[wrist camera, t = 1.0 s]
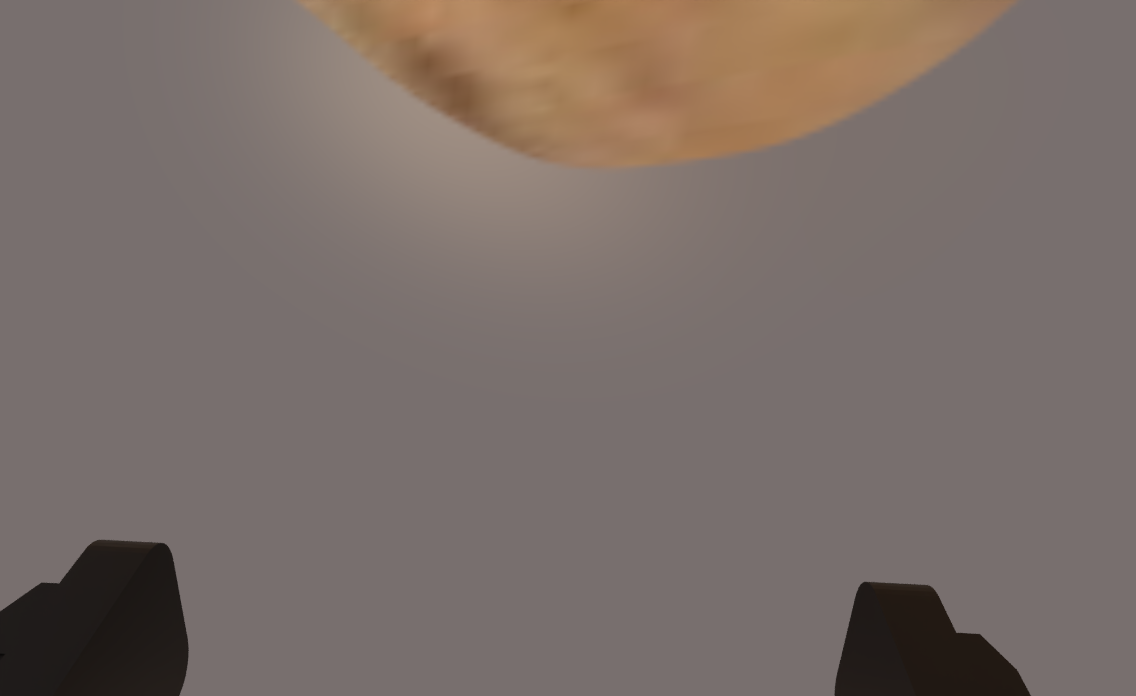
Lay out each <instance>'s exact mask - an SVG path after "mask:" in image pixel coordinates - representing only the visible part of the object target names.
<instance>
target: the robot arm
mask: <svg viewBox="0 0 1136 696" xmlns="http://www.w3.org/2000/svg"><path fill="white" fill-rule="evenodd" d="M188 651H189V650H188V638H187V634H186V627H185V622H184V616H183V611H182V605H181V600H180V595H179V589H178V583H177V578H176V572H175V567H174V562H173V557H172V553H171V551H170V549H169V547H168V546H167V545H166V544H164V543H152V542H132V541H113V540H97V541H95V542H93V543H92V544H90V545H89V546H88V547H87V548H86V549H85V551H84V552H83V553H82V555H81V556H80V557H79V558H78V560H77V561H76V562H75V564H74V565H73V566H72V568H71V569H70V570H69V572H68V573H67V574H66V575H65V577H64V578H63V579H62V581H61V582H60V583H59V584H57V583H40V584H39V585H37V586H36V587H35V588H33V589H32V590H30V591H29V592H28V593H26V594H25V595H23V596H22V597H20V598H19V599H17V600H16V601H15V602H13V603H12V604H10V605H9V606H7V607H6V608H5V609H3V610H2V611H0V696H179V695H180V692H181V689H182V687H183V683H184V680H185V676H186V670H187V664H188ZM835 696H1031V695H1030V694H1029V691H1028V690H1027V688H1026V686H1025V684H1024V682H1023V680H1022V679H1021V676H1020V675H1019V673H1018V671H1017V669H1015V668H1014V667H1013V666H1012V665H1011V664H1010V663H1009V662H1008V661H1007V660H1006V659H1005V658H1004V657H1003V656H1002V655H1001V654H1000V653H999V652H998V651H997V650H996V649H995V648H994V647H993V646H991V645H990V644H989V643H988V642H987V641H986V640H985V639H984V638H983V637H982V636H981V635H980V634H967V633H956V631H955V629H954V627H953V625H952V623H951V621H950V619H949V617H948V615H947V613H946V611H945V609H944V606H943V605H942V603H941V600H940V598H939V596H938V594H937V593H936V591H935V590H934V589H933V588H932V587H931V586H928V585H915V584H914V585H913V584H896V583H877V582H863V583H862V584H861V585H860V587H859V588H858V591H857V593H856V597H855V601H854V605H853V609H852V614H851V618H850V622H849V627H848V631H847V635H846V639H845V643H844V647H843V651H842V656H841V660H840V664H839V668H838V672H837V677H836V684H835Z"/></svg>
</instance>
